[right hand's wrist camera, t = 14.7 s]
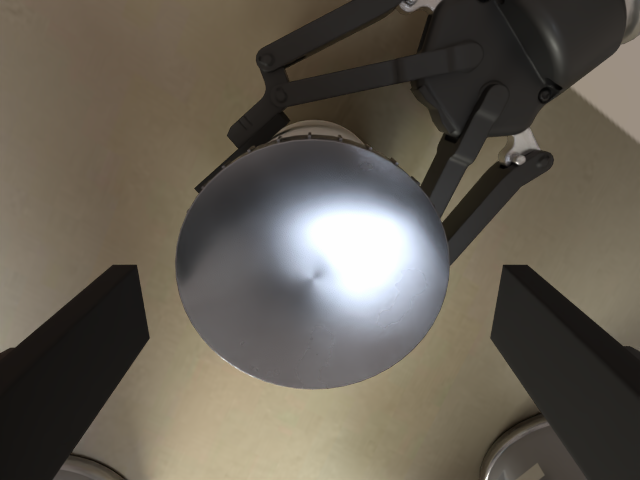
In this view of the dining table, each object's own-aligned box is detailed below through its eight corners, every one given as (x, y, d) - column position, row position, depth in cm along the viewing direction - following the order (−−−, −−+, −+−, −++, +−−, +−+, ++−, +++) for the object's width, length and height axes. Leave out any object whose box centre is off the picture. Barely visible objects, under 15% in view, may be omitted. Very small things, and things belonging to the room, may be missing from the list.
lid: (487, 196, 16) (505, 207, 14) (372, 394, 19) (376, 421, 17) (234, 84, 14) (224, 84, 13) (157, 321, 18) (142, 342, 16)
